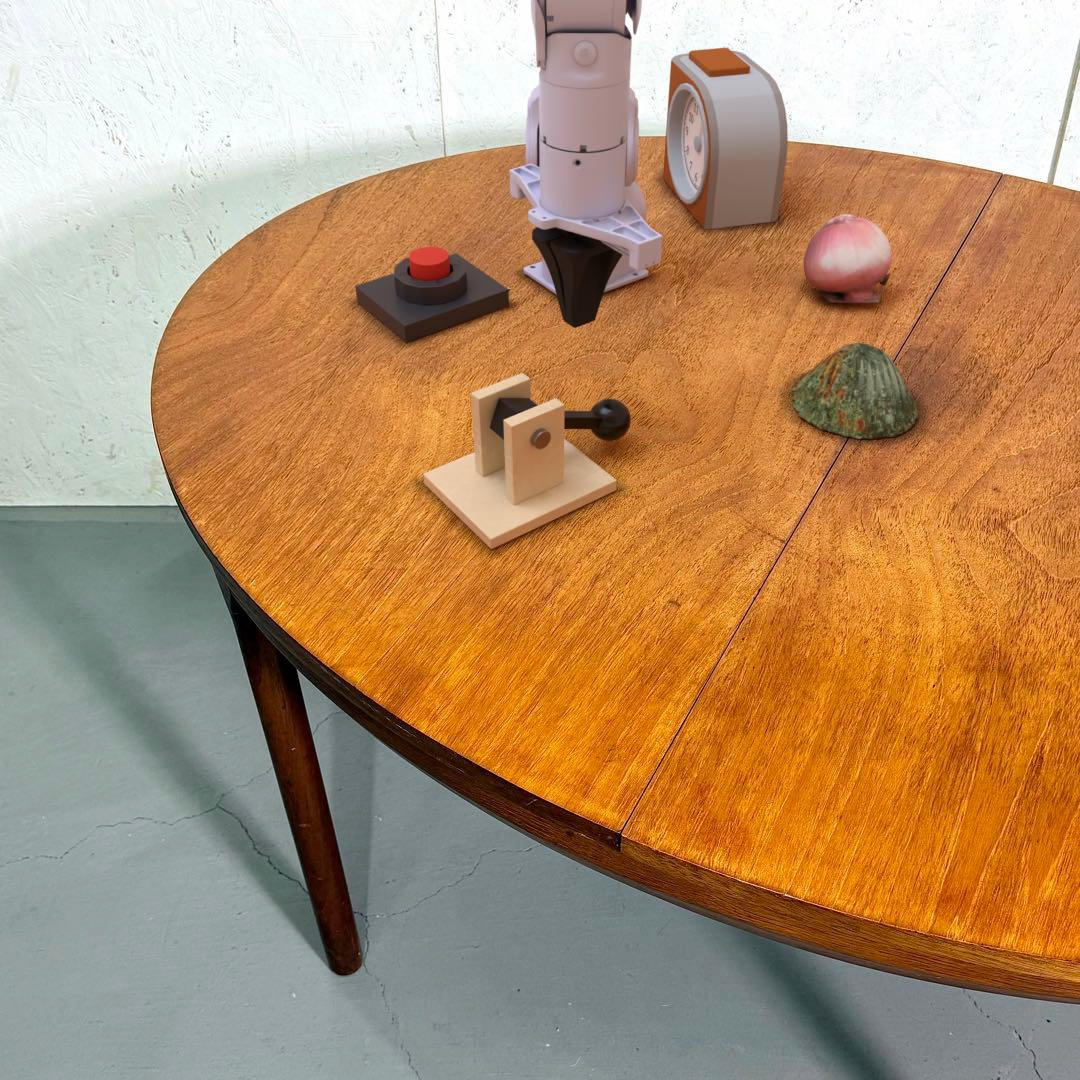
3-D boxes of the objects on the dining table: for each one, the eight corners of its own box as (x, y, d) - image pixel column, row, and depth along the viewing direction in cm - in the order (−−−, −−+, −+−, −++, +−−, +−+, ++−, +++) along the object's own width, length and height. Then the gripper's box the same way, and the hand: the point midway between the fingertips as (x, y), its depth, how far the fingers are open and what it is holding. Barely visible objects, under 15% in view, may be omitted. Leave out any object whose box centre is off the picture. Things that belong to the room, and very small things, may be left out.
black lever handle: (604, 428, 83) (618, 391, 81) (630, 448, 81) (645, 410, 79) (483, 429, 75) (495, 388, 73) (508, 451, 73) (522, 410, 71)
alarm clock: (655, 173, 120) (663, 47, 111) (726, 166, 122) (739, 40, 113) (701, 230, 109) (714, 95, 100) (778, 221, 111) (797, 87, 102)
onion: (851, 266, 103) (865, 195, 98) (903, 302, 98) (921, 228, 93) (782, 284, 101) (794, 212, 96) (833, 321, 95) (848, 247, 91)
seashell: (793, 380, 81) (812, 317, 88) (781, 423, 83) (800, 359, 90) (927, 412, 79) (935, 346, 86) (910, 456, 81) (919, 388, 89)
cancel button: (437, 260, 98) (435, 242, 97) (457, 275, 96) (456, 257, 95) (403, 271, 97) (401, 253, 95) (423, 286, 94) (422, 268, 93)
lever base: (544, 432, 83) (544, 345, 78) (616, 490, 78) (621, 401, 72) (423, 484, 78) (414, 395, 73) (491, 550, 73) (486, 459, 68)
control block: (457, 269, 103) (455, 235, 101) (509, 306, 98) (508, 271, 96) (357, 302, 99) (352, 267, 96) (406, 343, 93) (402, 307, 91)
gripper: (470, 116, 72) (479, 297, 81) (604, 188, 63) (598, 382, 72) (554, 94, 75) (554, 270, 84) (693, 160, 66) (676, 349, 75)
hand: (579, 320), depth 78 cm, fingers closed
